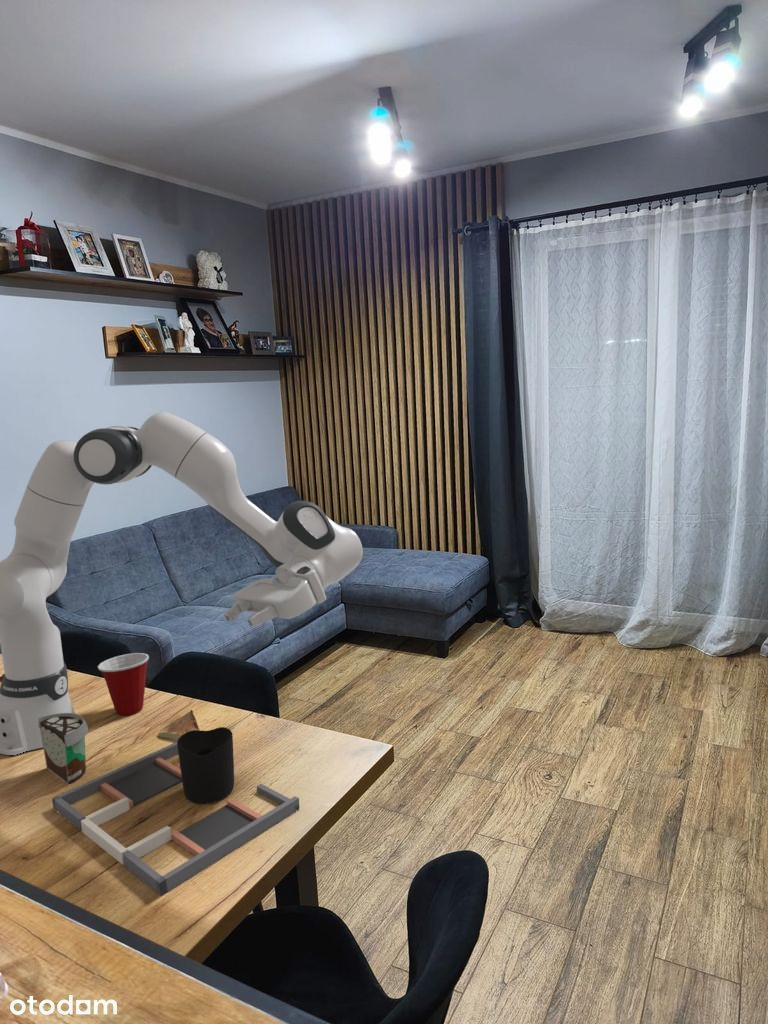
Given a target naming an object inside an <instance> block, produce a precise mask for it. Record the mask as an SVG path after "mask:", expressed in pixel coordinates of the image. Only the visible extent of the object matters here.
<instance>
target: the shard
mask: <svg viewBox="0 0 768 1024" xmlns="http://www.w3.org/2000/svg"><path fill="white" fill-rule="evenodd" d="M192 730H200V728H199V725H198V722H197V719H196V717H195V715H194V711H193V709H190V710H189V711H188V712H186V713H185V714H184V715H182V716H180V717H178V718H177V719H175V720H173V721H172V722H169V724H167V725H166V726H165V727H163V728H162V729H160V730H159V732H158V737H161V738H166V739H171V740H174V741H175V740H176V741H178V739H179V738H180V737H181V736H182V735H183V734H185V733H186V732H188V731H192Z"/></svg>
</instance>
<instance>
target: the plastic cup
mask: <svg viewBox="0 0 768 1024" xmlns="http://www.w3.org/2000/svg"><path fill="white" fill-rule="evenodd" d="M149 659H150V656H149V654H147V653H143V652H134V653H133V652H132V653H126V654H122V655H117V656H114V657H110V658H108V659H105V660H104V661H102V662H100V663H99V664H98V665H97V669H98V671H100V672H101V674H102V676H103V679H104V681H105V683H106V686H107V689H108V692H109V696H110V699H111V701H112V705H113V708H114V712H115V713H116V715H118V716H123V717H125V716H131V715H135V714H137V713H139V712H141V711H142V709H144V700H145V699H144V697H145V692H146V691H145V690H146V689H145V688H146V677H147V676H146V675H147V674H146V673H147V666H148V661H149Z"/></svg>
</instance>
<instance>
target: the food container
mask: <svg viewBox="0 0 768 1024" xmlns="http://www.w3.org/2000/svg"><path fill="white" fill-rule="evenodd" d="M38 725H39V728H40V731H41V737H42V743H43V755H44V759H45V766H46V769H47V768H48V769H49V770H48V769H47V770H48V771H49V772H51V771H52V772H53V773H54V774H53V775H55V776H56V775H57V776H58V778H59V779H60V780H61V781H62V780H63V781H62V782H64V783H65V784H66V785H67V786H70V785H72V784H73V783H76V782H77V781H79V780H80V779H81V778H82V777H83V776H84V775H85V773H86V771H87V769H86V768H87V764H86V763H87V761H86V735H87V734H89V733H88V732H89V726H88V724H87V722H86V720H85V719H84V717H83V716H82V715H80V714H78V713H75V714H74V713H58V714H52V715H47V716H44V717H40V718H39V721H38ZM52 772H51V773H52ZM57 776H56V777H57ZM69 784H70V785H69Z"/></svg>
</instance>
